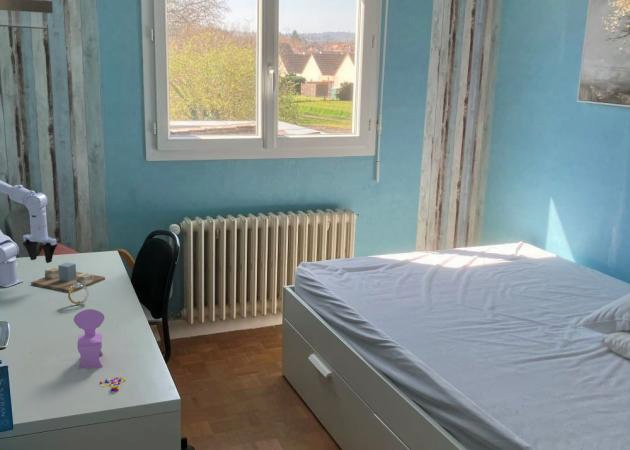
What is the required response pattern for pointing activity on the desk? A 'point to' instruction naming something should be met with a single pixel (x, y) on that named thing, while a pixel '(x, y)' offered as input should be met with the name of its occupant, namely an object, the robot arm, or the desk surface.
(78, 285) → the ring
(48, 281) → the wooden board
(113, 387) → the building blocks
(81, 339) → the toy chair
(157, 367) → the desk surface
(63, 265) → the slate block
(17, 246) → the robot arm
